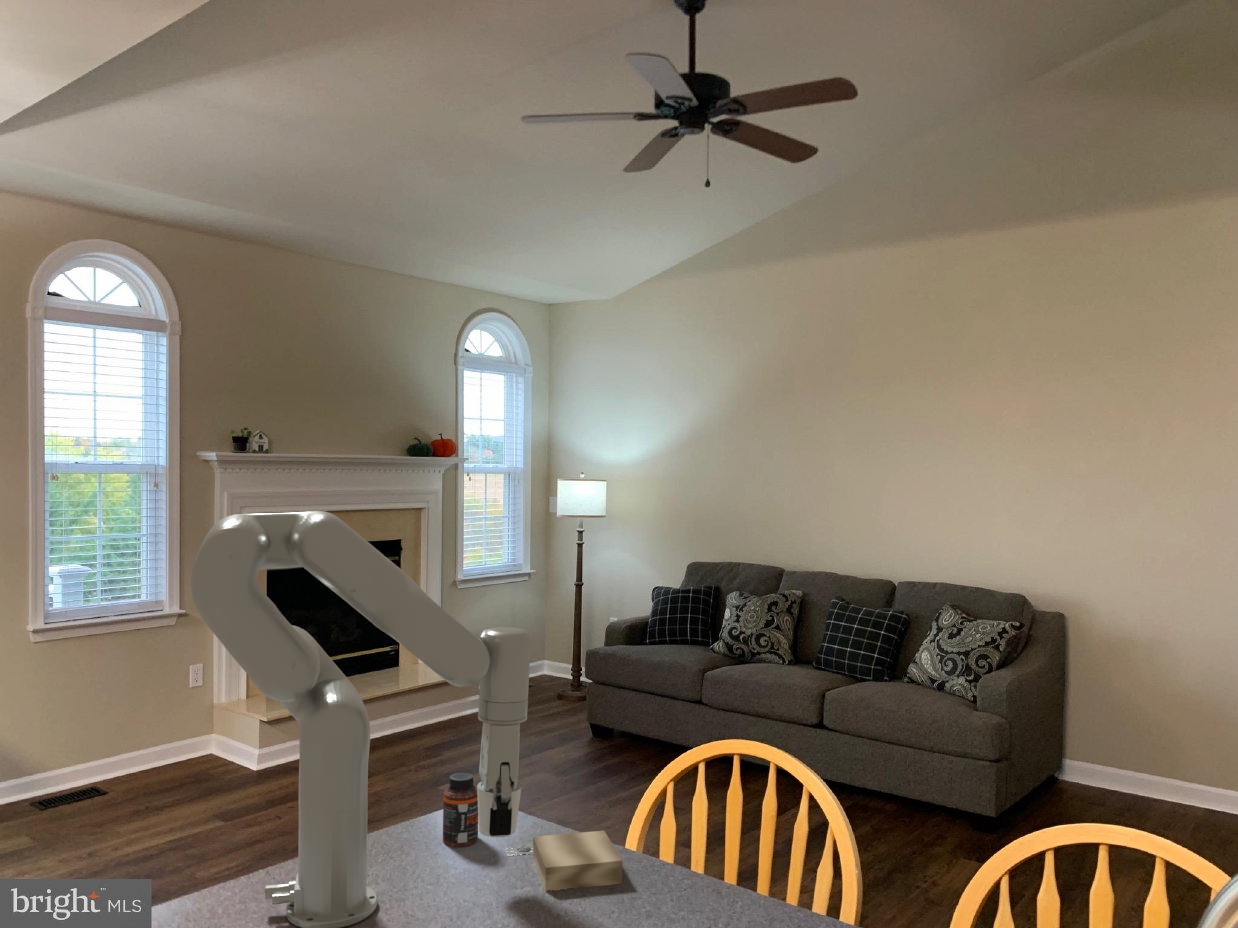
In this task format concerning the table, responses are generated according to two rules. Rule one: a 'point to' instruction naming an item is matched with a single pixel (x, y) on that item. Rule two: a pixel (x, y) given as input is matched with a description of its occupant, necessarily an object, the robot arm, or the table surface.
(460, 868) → the table surface
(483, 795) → the light grey cup
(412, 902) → the table surface
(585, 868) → the maple block
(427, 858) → the table surface
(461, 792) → the supplement bottle
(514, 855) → the push button plate
